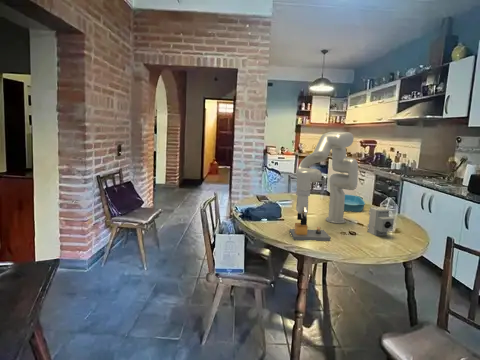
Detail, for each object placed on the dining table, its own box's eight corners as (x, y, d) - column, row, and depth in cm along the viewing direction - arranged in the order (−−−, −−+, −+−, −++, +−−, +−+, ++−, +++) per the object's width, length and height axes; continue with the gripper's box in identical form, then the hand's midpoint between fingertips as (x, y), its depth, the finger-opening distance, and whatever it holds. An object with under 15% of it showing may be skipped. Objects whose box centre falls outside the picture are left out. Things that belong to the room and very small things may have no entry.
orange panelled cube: (294, 231, 198) (294, 222, 198) (304, 231, 199) (305, 222, 198) (296, 234, 193) (296, 225, 192) (307, 234, 193) (307, 225, 192)
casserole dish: (366, 214, 252) (367, 204, 251) (335, 212, 255) (335, 202, 254) (358, 203, 288) (359, 194, 287) (330, 201, 291) (331, 193, 290)
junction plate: (289, 232, 203) (290, 223, 202) (323, 233, 203) (324, 224, 202) (293, 240, 189) (294, 230, 188) (330, 241, 189) (331, 231, 189)
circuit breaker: (382, 239, 195) (385, 213, 193) (367, 231, 209) (369, 207, 207) (393, 238, 197) (396, 212, 195) (377, 231, 211) (380, 206, 209)
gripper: (293, 189, 200) (292, 217, 203) (299, 195, 183) (298, 227, 186) (306, 189, 201) (305, 217, 204) (313, 196, 184) (311, 227, 187)
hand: (301, 222), depth 195 cm, fingers open, 9 cm apart
